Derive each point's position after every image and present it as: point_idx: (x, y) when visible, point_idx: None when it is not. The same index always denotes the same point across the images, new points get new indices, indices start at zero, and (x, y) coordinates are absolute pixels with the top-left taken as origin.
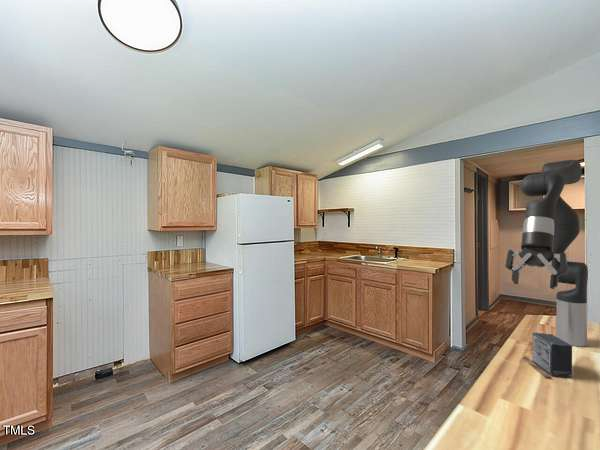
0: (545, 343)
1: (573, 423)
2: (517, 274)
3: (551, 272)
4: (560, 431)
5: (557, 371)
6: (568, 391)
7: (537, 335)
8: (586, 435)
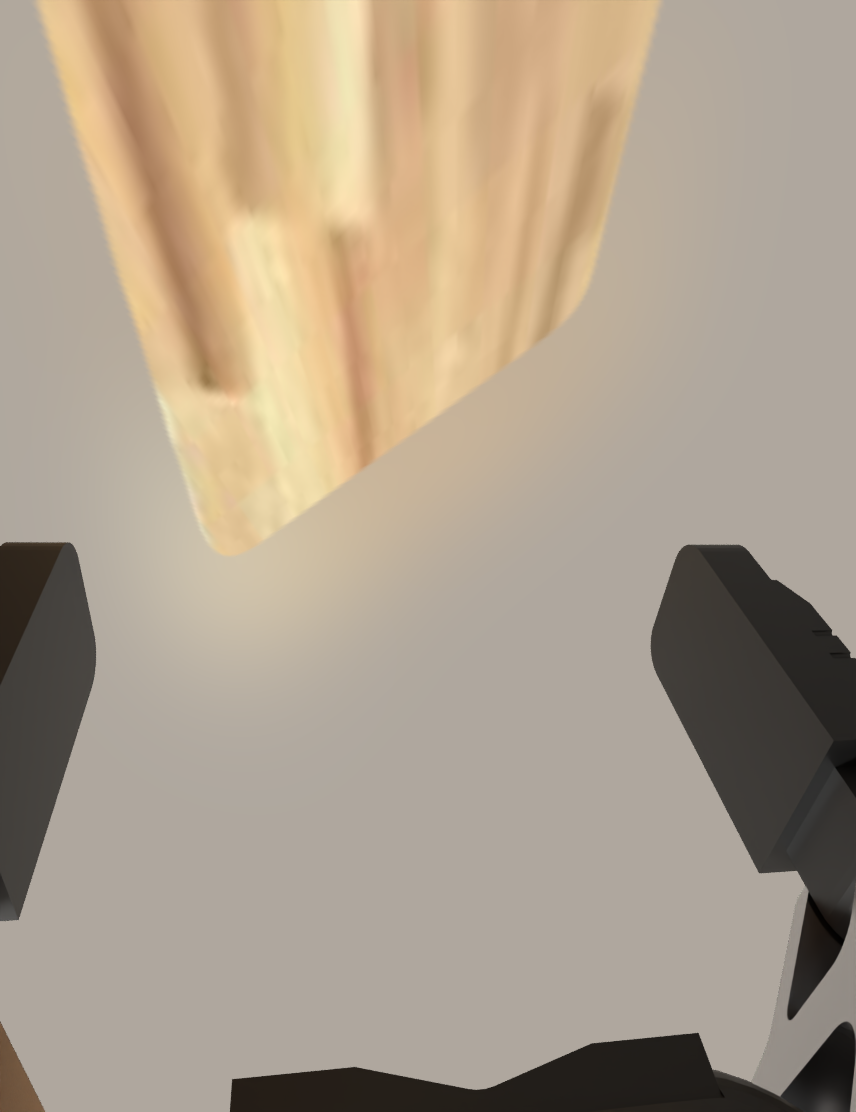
0: None
1: (537, 209)
2: (36, 821)
3: (796, 933)
4: (485, 309)
5: None
6: None
7: None
8: (569, 269)
